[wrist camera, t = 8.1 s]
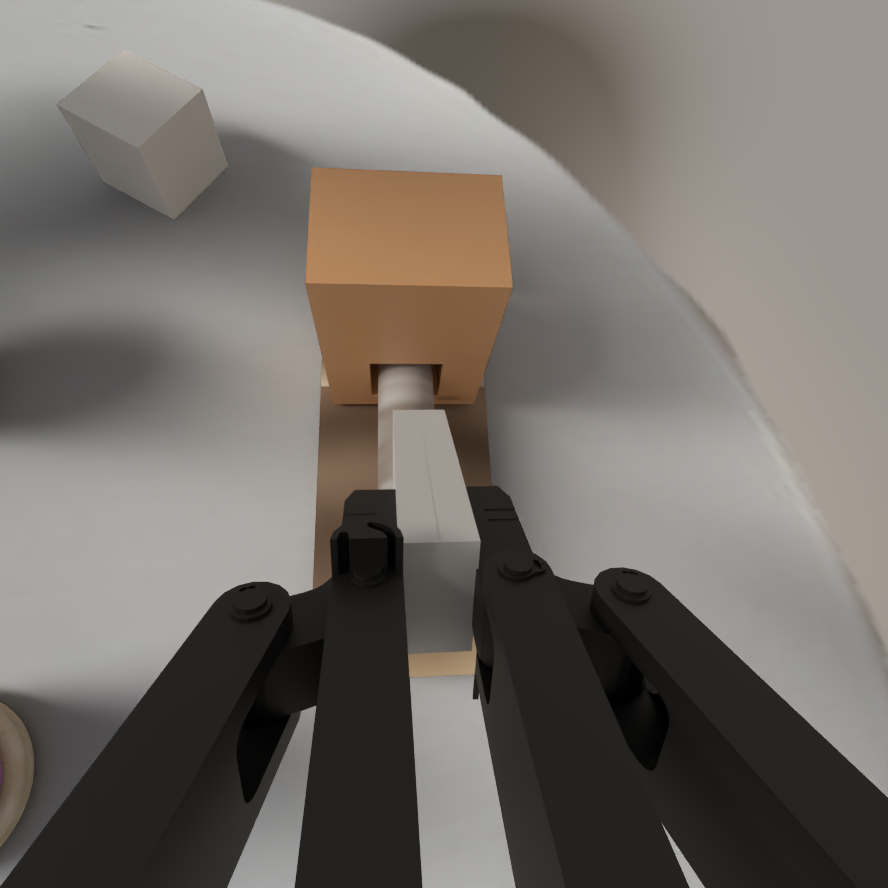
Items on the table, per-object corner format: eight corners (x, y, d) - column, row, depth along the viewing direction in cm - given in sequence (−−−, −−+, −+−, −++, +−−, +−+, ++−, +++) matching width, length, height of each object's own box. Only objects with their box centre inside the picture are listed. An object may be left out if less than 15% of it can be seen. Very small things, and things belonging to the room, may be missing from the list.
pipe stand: (500, 668, 30) (526, 671, 24) (311, 676, 29) (292, 682, 23) (472, 268, 39) (486, 202, 33) (328, 264, 38) (316, 196, 32)
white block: (174, 221, 38) (137, 148, 33) (104, 183, 39) (55, 104, 33) (229, 166, 40) (202, 88, 35) (161, 130, 41) (124, 48, 35)
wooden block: (473, 404, 34) (512, 287, 23) (333, 403, 33) (305, 283, 22) (468, 319, 36) (501, 175, 25) (335, 317, 35) (311, 167, 24)
